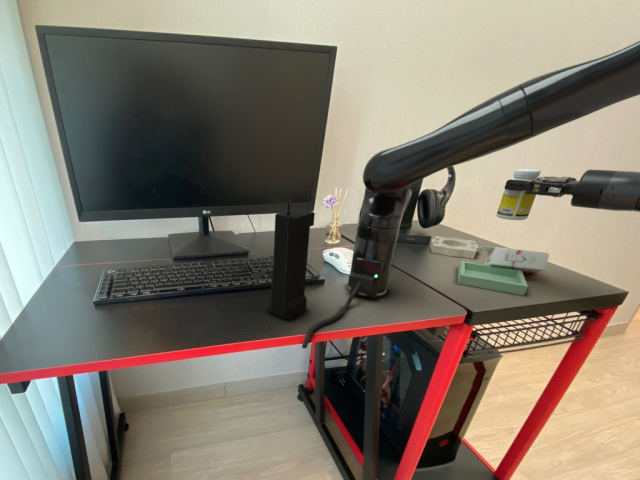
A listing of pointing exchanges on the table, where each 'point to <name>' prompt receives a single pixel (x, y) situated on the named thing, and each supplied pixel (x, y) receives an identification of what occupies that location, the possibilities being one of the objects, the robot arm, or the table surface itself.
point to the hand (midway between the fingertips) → (511, 183)
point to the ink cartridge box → (516, 259)
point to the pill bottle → (518, 198)
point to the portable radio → (290, 262)
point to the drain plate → (454, 247)
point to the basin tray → (492, 277)
